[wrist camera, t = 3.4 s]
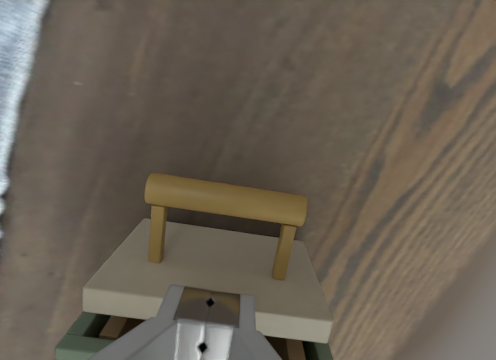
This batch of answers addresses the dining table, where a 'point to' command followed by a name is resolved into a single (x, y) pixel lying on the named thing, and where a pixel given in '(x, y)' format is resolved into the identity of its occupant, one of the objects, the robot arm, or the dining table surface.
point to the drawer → (215, 263)
